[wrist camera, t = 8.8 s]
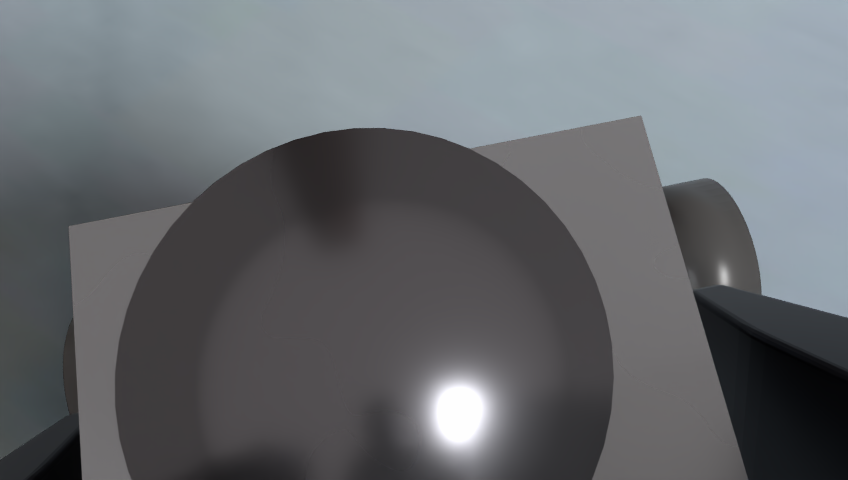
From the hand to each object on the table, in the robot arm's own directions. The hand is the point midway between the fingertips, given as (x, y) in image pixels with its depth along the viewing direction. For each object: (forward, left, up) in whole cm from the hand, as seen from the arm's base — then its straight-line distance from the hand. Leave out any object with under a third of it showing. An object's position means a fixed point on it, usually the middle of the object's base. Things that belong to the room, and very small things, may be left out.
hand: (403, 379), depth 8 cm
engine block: (-1, -1, -8) cm, 8 cm away
